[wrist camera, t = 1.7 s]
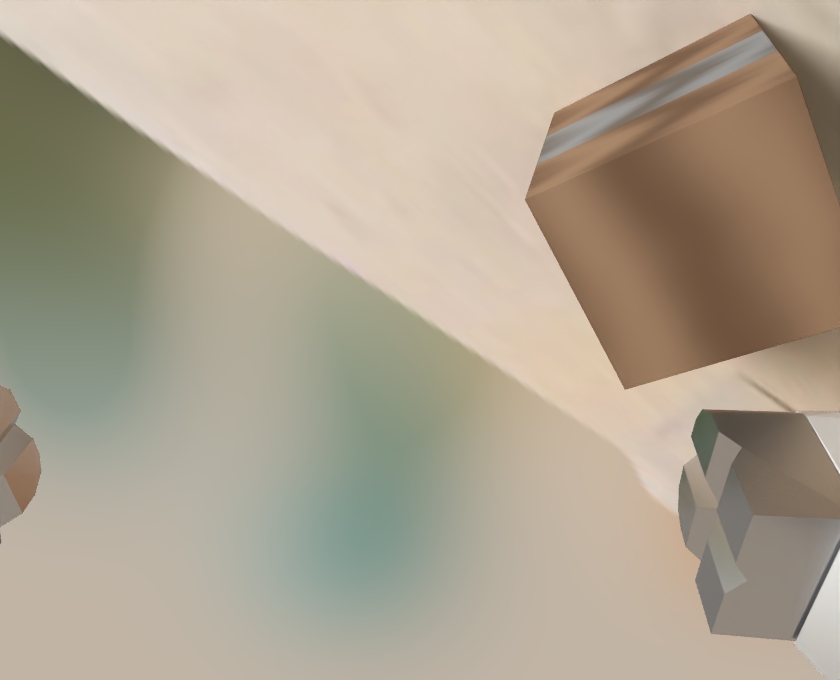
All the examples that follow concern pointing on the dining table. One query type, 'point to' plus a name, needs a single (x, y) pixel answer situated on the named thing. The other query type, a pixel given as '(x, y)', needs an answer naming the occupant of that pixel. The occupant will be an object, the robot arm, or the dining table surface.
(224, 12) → the dining table surface
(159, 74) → the dining table surface
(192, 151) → the dining table surface
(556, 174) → the taped cardboard box
